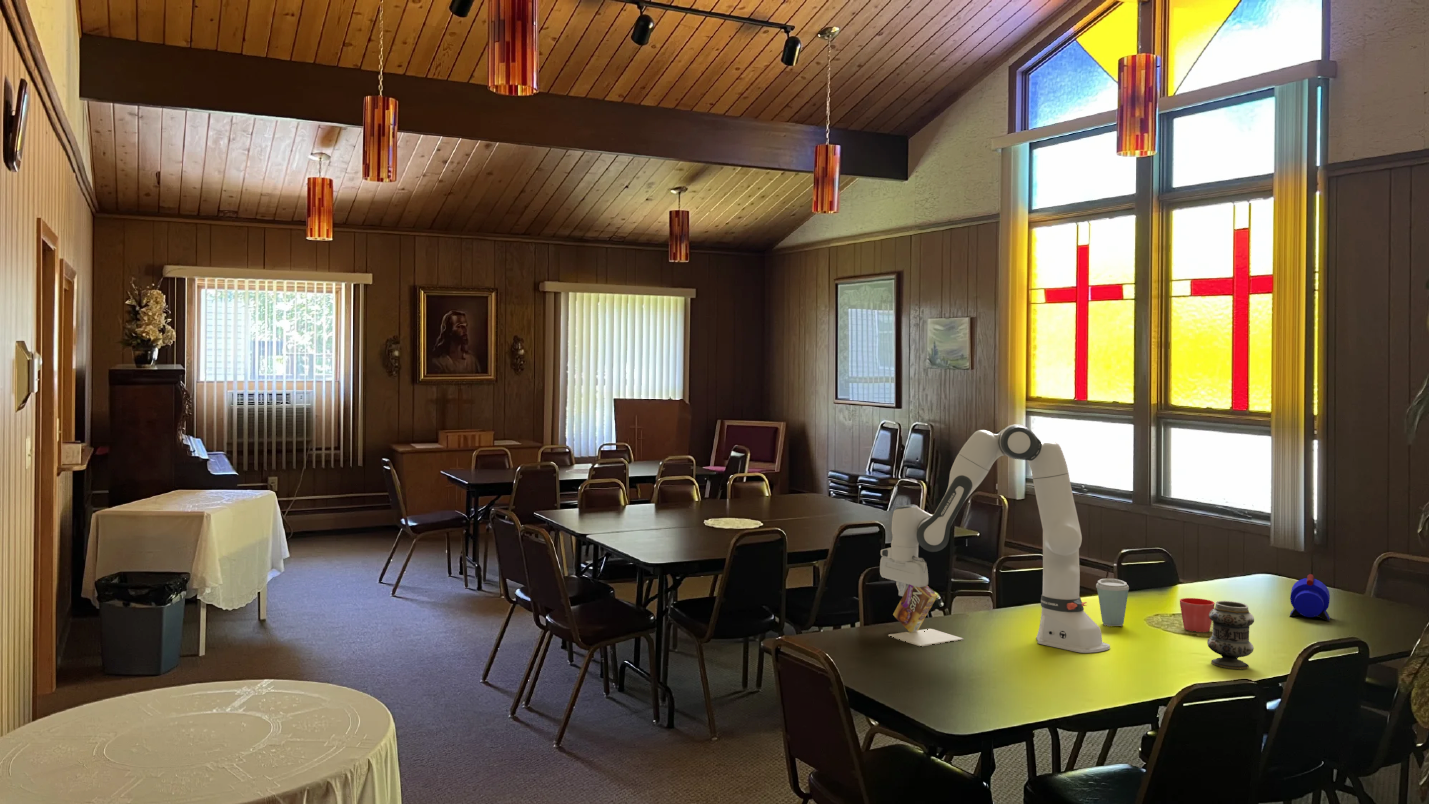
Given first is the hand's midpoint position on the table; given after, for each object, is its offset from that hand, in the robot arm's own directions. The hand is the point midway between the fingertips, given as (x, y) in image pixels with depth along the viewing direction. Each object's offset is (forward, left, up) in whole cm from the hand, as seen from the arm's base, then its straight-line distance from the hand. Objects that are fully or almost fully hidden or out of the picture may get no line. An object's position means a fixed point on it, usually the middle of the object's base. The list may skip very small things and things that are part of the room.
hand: (903, 596), depth 331 cm
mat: (-11, 0, -11) cm, 16 cm away
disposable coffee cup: (-27, -70, -12) cm, 76 cm away
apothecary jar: (-77, -58, -12) cm, 97 cm away
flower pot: (-45, -90, -12) cm, 101 cm away
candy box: (-1, 0, -9) cm, 9 cm away
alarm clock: (-52, -145, -12) cm, 154 cm away
